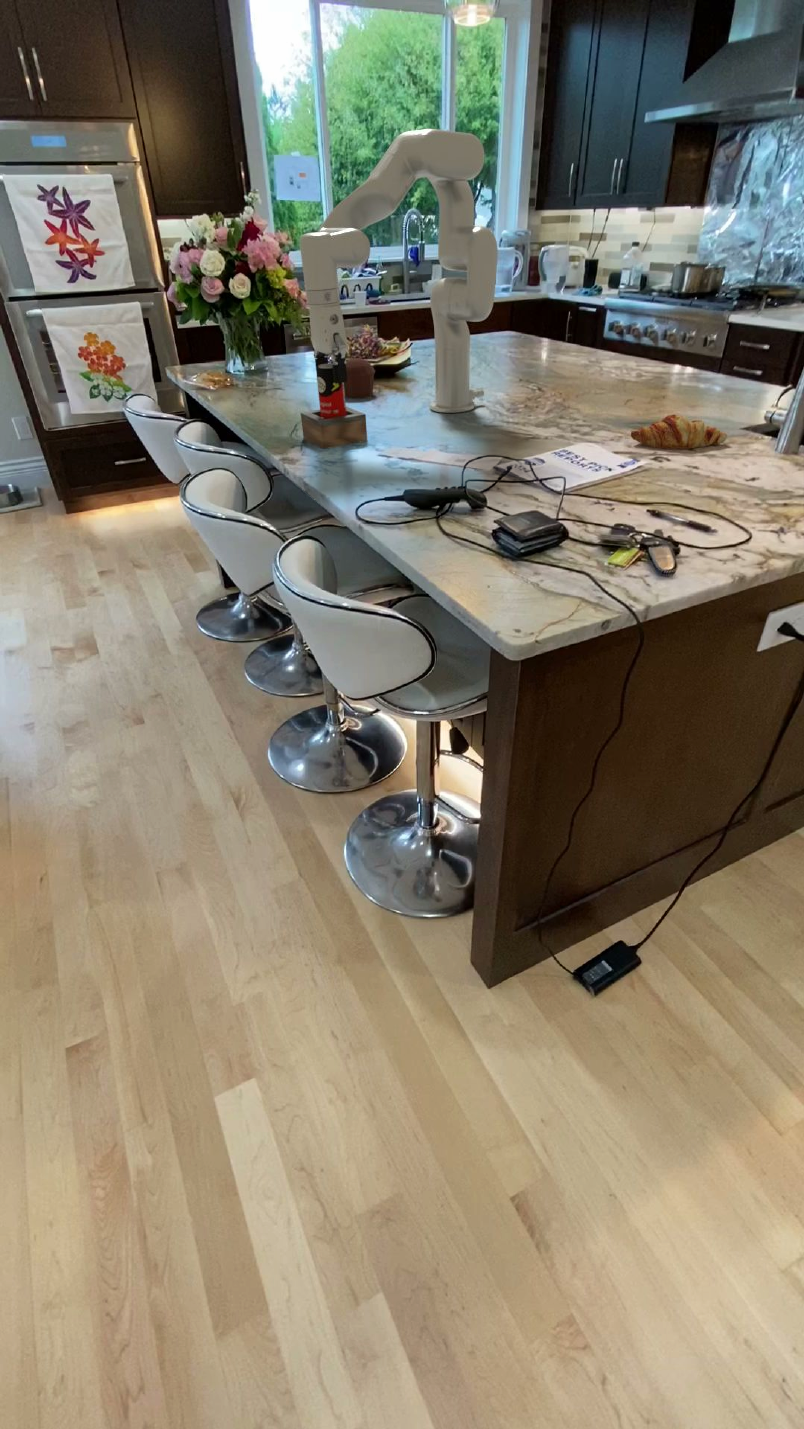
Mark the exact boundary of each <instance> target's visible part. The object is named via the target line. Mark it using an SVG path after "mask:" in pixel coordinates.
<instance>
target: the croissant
mask: <svg viewBox="0 0 804 1429" xmlns="http://www.w3.org/2000/svg"><path fill="white" fill-rule="evenodd" d="M630 436H631V438H632V440H634V441H636V442H637V443H640V444H643V445H645V446H648V447H651V448H661V449H667V450H668V449H669V450H672V449H675V450H676V449H677V450H679V449H680V450H687V449H695V448H703V447H704V448H705V447H708V446H710V445H714V446H716V445H717V446H718V445H720V444H723V443H724V442H725V441H726V440H727V438H728V434H727V433H726V432H724V433H723V432H722V431H721V430H720V429H718V427H716V426H715V427H711V426H710V425H708V424H705V422H703V421H702V420H699V419H698V420H691V421H689V420H688V419H687V417H686V416H684V415H679V414H667V415H666V416H665V417H663V418H662V420H661V421H654V422H653V423H652V424H651V425H650V426H641V427H640V428H638V429H637V430H632V431H631V433H630Z"/></svg>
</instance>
